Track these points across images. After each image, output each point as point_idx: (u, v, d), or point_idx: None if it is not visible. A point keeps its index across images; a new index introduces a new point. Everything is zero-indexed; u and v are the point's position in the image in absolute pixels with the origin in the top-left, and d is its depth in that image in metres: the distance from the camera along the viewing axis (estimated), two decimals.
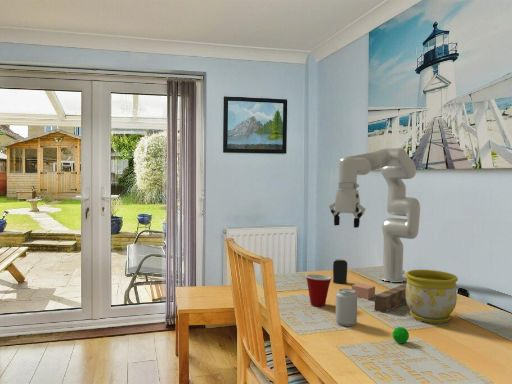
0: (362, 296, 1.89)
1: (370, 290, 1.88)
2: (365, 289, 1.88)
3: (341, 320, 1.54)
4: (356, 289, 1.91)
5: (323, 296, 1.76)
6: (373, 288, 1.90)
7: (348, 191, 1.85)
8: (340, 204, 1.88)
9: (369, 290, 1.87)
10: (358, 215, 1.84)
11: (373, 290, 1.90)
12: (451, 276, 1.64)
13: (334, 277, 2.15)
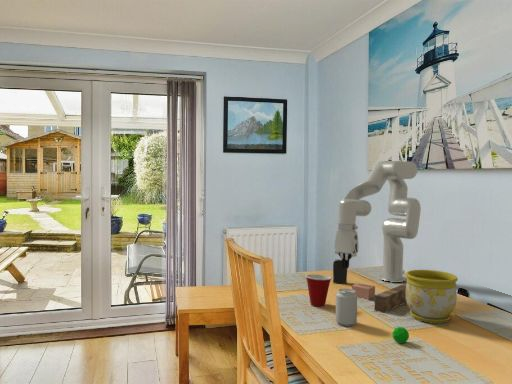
0: (362, 296, 1.89)
1: (370, 290, 1.88)
2: (365, 289, 1.88)
3: (341, 320, 1.54)
4: (356, 289, 1.90)
5: (323, 296, 1.76)
6: (373, 288, 1.90)
7: (347, 232, 1.93)
8: (339, 244, 1.96)
9: (369, 290, 1.88)
10: (348, 257, 1.95)
11: (373, 290, 1.90)
12: (451, 276, 1.64)
13: (334, 277, 2.15)
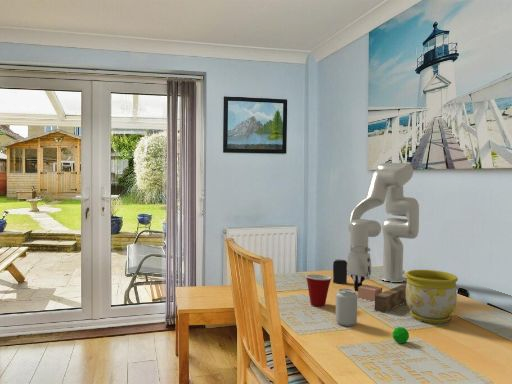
0: (369, 298, 1.86)
1: (377, 292, 1.85)
2: (372, 291, 1.85)
3: (341, 320, 1.54)
4: (363, 291, 1.88)
5: (323, 296, 1.76)
6: (380, 290, 1.87)
7: (360, 255, 1.90)
8: (352, 266, 1.93)
9: (376, 292, 1.85)
10: None
11: (380, 292, 1.87)
12: (451, 276, 1.64)
13: (334, 277, 2.15)
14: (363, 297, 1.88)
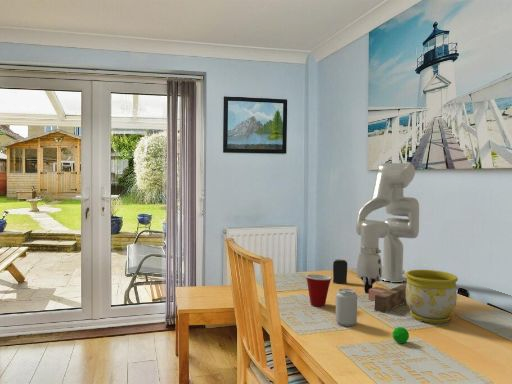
0: None
1: None
2: None
3: (341, 320, 1.54)
4: (374, 293, 1.84)
5: (323, 296, 1.76)
6: None
7: (370, 256, 1.86)
8: (362, 268, 1.89)
9: None
10: (371, 282, 1.88)
11: None
12: (451, 276, 1.64)
13: (334, 277, 2.15)
14: (374, 300, 1.84)
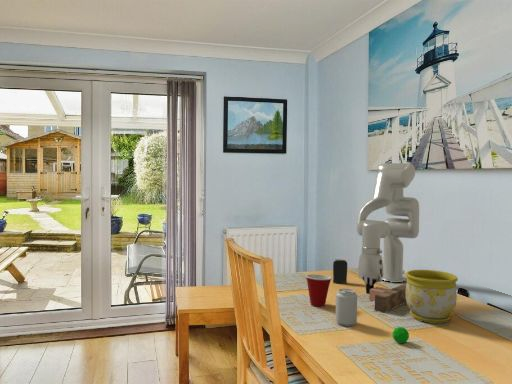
0: None
1: None
2: None
3: (341, 320, 1.54)
4: (374, 293, 1.84)
5: (323, 296, 1.76)
6: None
7: (371, 257, 1.86)
8: (363, 269, 1.89)
9: None
10: None
11: None
12: (451, 276, 1.64)
13: (334, 277, 2.15)
14: None
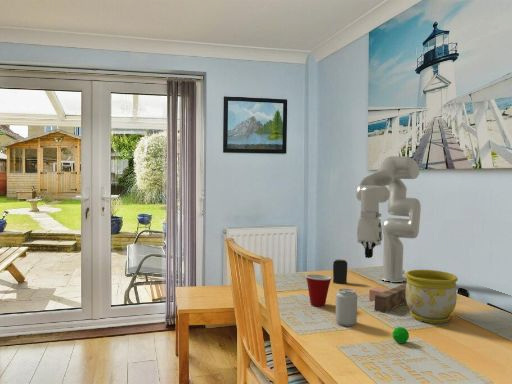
0: None
1: None
2: None
3: (341, 320, 1.54)
4: (374, 293, 1.84)
5: (323, 296, 1.76)
6: None
7: (371, 220, 1.86)
8: (362, 233, 1.89)
9: None
10: None
11: None
12: (451, 276, 1.64)
13: (334, 277, 2.15)
14: None
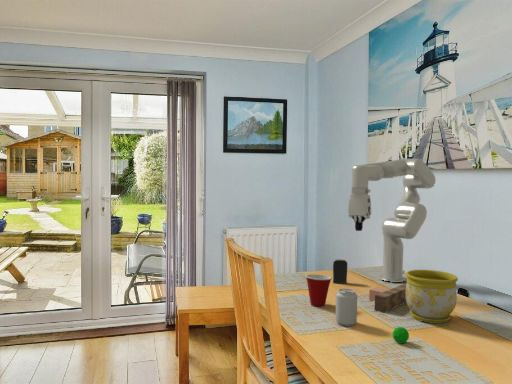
0: None
1: None
2: None
3: (341, 320, 1.54)
4: (374, 293, 1.84)
5: (323, 296, 1.76)
6: None
7: (360, 196, 2.02)
8: (353, 208, 2.05)
9: None
10: None
11: None
12: (451, 276, 1.64)
13: (334, 277, 2.15)
14: None
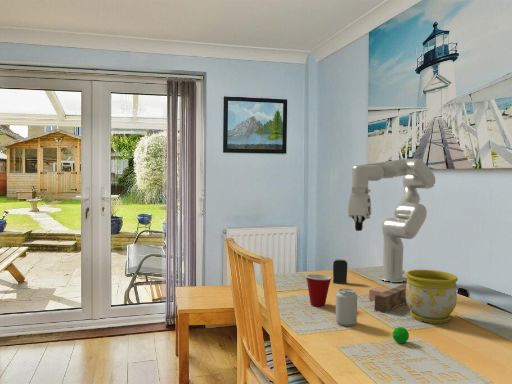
0: None
1: None
2: None
3: (341, 320, 1.54)
4: (374, 293, 1.84)
5: (323, 296, 1.76)
6: None
7: (360, 196, 2.02)
8: (353, 207, 2.05)
9: None
10: None
11: None
12: (451, 276, 1.64)
13: (334, 277, 2.15)
14: (374, 300, 1.84)
